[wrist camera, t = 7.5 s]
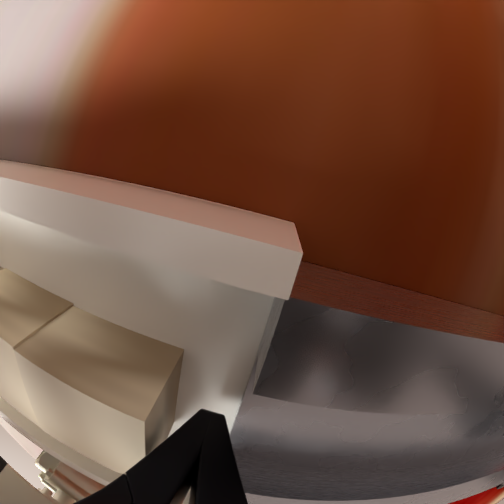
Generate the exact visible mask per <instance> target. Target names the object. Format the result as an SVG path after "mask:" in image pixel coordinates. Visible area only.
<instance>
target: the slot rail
mask: <svg viewBox="0 0 504 504" xmlns="http://www.w3.org/2000/svg"><path fill="white" fill-rule="evenodd" d="M229 434H230V439H231V443H232V447H233V451H234V454H235V458H236V462H237V466H238V470H239V473H240V477H241V481H242V484H243V488H244V491H245V495H246V498H247V502H248V504H448V503H451V502H455V501H458V500H461V499H464V498H467V497H470V496H472V495H475V494H478V493H481V492H483V491H486V490H488V489H491V488H493V487H495V486H498V485H500V484H502V483H504V316H501V315H498V314H494V313H491V312H487V311H484V310H480V309H476V308H473V307H469V306H466V305H462V304H458V303H455V302H451V301H447V300H444V299H440V298H437V297H433V296H429V295H426V294H422V293H418V292H415V291H411V290H408V289H404V288H400V287H397V286H393V285H389V284H386V283H382V282H378V281H375V280H371V279H367V278H364V277H360V276H356V275H352V274H349V273H345V272H341V271H338V270H334V269H330V268H327V267H323V266H319V265H315V264H312V263H308V262H304V261H301V262H300V265H299V268H298V272H297V275H296V278H295V281H294V284H293V287H292V291H291V294H290V297H289V300H285V299H281V298H277V297H275V298H274V301H273V304H272V308H271V311H270V314H269V317H268V320H267V324H266V327H265V330H264V333H263V336H262V339H261V342H260V345H259V348H258V352H257V355H256V358H255V361H254V364H253V367H252V370H251V373H250V376H249V379H248V382H247V385H246V387H245V390H244V393H243V396H242V399H241V402H240V405H239V408H238V411H237V413H236V416H235V419H234V422H233V425H232V428H231V430H230V433H229Z"/></svg>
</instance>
